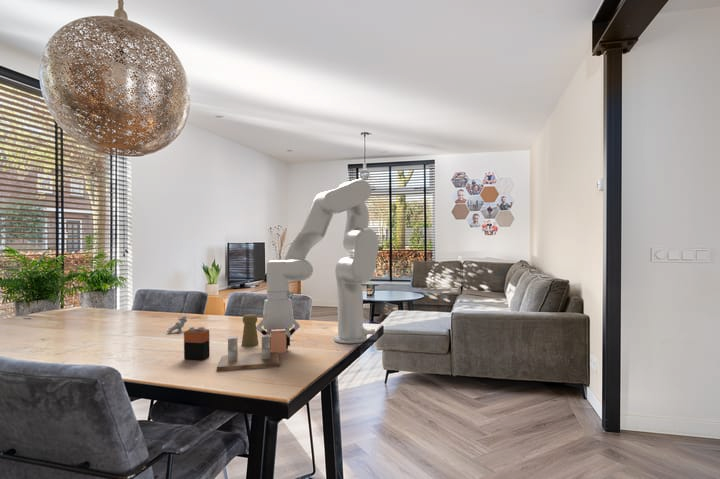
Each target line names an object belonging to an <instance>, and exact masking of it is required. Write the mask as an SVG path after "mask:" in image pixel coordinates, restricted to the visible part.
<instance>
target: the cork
mask: <svg viewBox="0 0 720 479" xmlns="http://www.w3.org/2000/svg"><path fill="white" fill-rule="evenodd" d="M257 322H258V316H257V314H253V313H248V314H244V315H243V317H242V323H243V332H242V340H241V346H242V347H245V348H246V347H248V348H249V347H256V346H258V345H259V337H258V330H257V329H256V327H257V324H256V323H257Z"/></svg>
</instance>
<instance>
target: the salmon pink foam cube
mask: <svg viewBox="0 0 720 479" xmlns="http://www.w3.org/2000/svg"><path fill="white" fill-rule="evenodd" d="M286 334H287V333H286V330H285V329H276V330H271V333H270V337H271V350H270V352H279V354H281V353H287V349H286Z"/></svg>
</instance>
